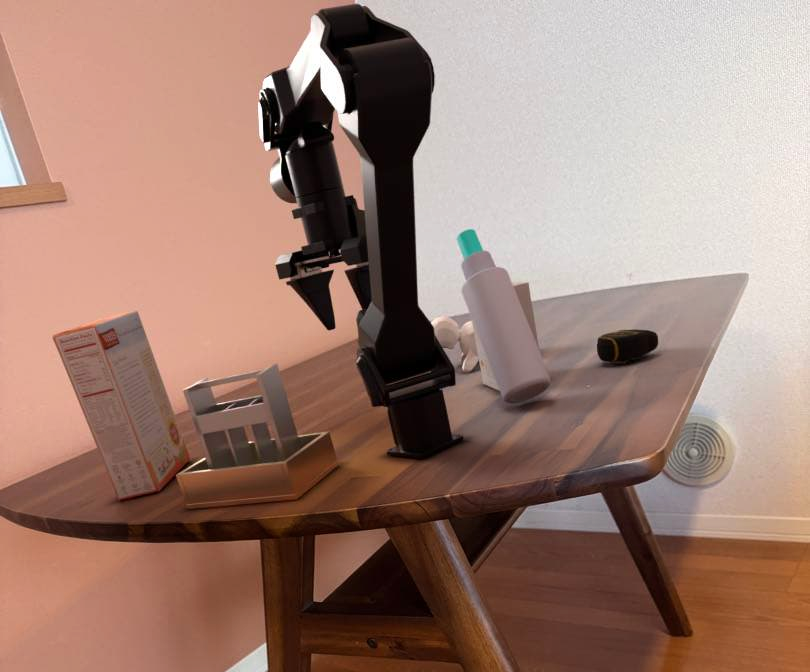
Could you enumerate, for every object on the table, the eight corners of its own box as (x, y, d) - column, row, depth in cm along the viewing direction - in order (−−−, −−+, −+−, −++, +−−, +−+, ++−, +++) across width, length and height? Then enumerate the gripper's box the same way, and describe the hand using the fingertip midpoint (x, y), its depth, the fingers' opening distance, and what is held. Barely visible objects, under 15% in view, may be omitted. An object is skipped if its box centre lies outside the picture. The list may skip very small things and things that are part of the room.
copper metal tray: (338, 465, 88) (329, 431, 87) (296, 499, 80) (286, 462, 78) (236, 476, 94) (226, 444, 92) (187, 509, 85) (175, 474, 84)
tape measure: (662, 354, 102) (659, 326, 101) (623, 368, 100) (620, 339, 98) (626, 353, 108) (622, 326, 107) (588, 366, 106) (584, 339, 104)
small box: (545, 381, 104) (529, 281, 99) (501, 393, 103) (482, 293, 98) (524, 373, 111) (508, 280, 106) (482, 384, 110) (464, 291, 105)
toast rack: (307, 466, 88) (277, 363, 84) (292, 482, 83) (260, 373, 79) (235, 479, 90) (203, 378, 86) (217, 495, 86) (182, 390, 81)
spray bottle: (542, 377, 88) (476, 213, 92) (496, 400, 91) (435, 240, 95) (559, 385, 94) (496, 230, 98) (515, 408, 96) (456, 256, 100)
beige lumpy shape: (511, 371, 129) (423, 356, 128) (522, 319, 126) (431, 304, 125) (518, 381, 121) (423, 365, 120) (530, 325, 118) (433, 309, 117)
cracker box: (152, 468, 108) (97, 318, 101) (192, 460, 108) (140, 308, 100) (114, 502, 96) (48, 333, 88) (160, 493, 95) (97, 321, 87)
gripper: (422, 166, 87) (450, 306, 93) (329, 196, 101) (358, 316, 107) (345, 181, 81) (380, 330, 87) (258, 211, 95) (292, 337, 101)
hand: (352, 327), depth 96 cm, fingers open, 9 cm apart
